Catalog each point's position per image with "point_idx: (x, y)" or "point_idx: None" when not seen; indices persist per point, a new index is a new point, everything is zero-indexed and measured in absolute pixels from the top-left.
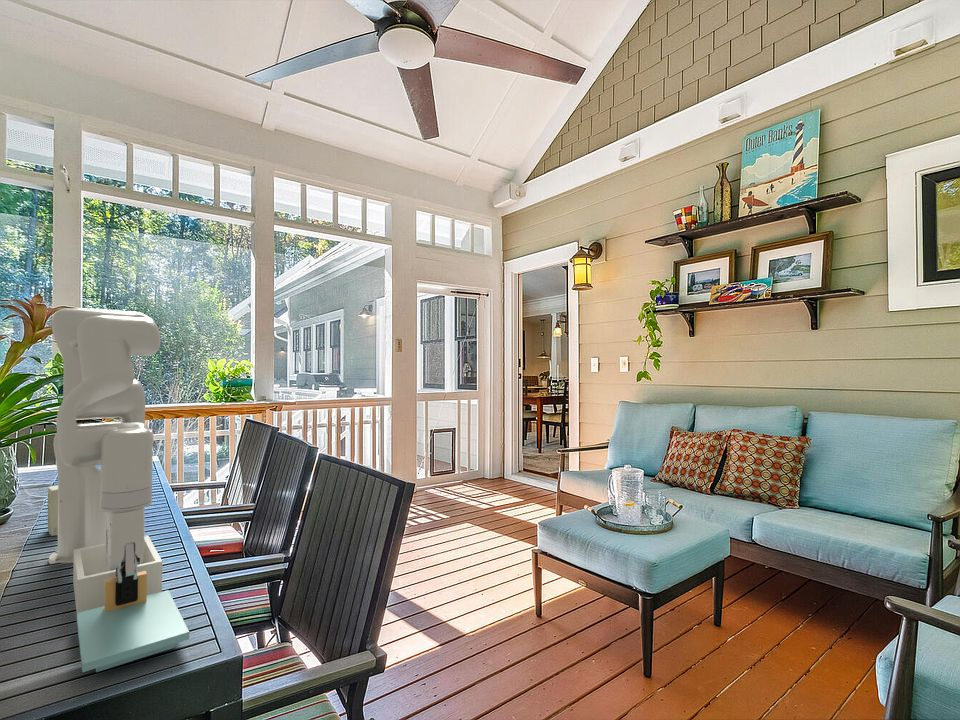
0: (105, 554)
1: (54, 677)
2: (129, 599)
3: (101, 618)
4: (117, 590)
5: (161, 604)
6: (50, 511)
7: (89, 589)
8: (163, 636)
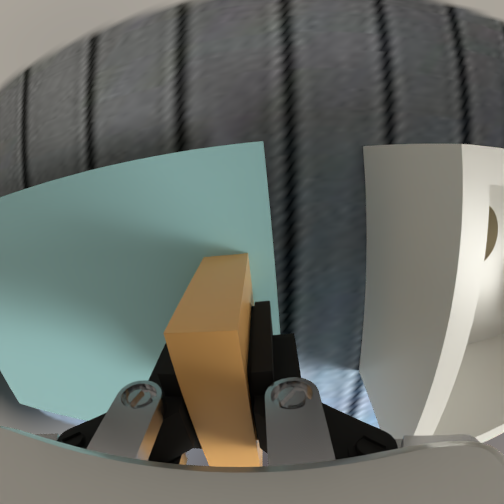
0: (401, 483)
1: (46, 133)
2: None
3: (142, 244)
4: None
5: None
6: None
7: (421, 198)
8: (5, 367)
